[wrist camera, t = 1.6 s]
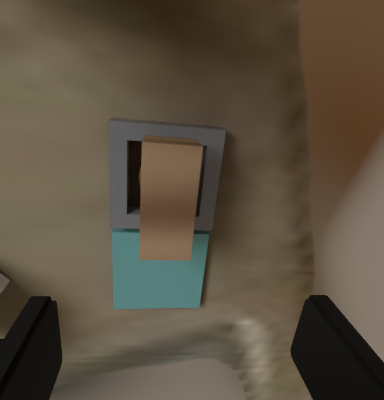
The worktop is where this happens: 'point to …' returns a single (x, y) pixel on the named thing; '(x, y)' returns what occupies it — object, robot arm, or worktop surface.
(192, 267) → the tile
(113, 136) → the socket
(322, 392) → the robot arm
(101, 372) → the worktop surface
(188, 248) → the t-key
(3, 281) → the small box
